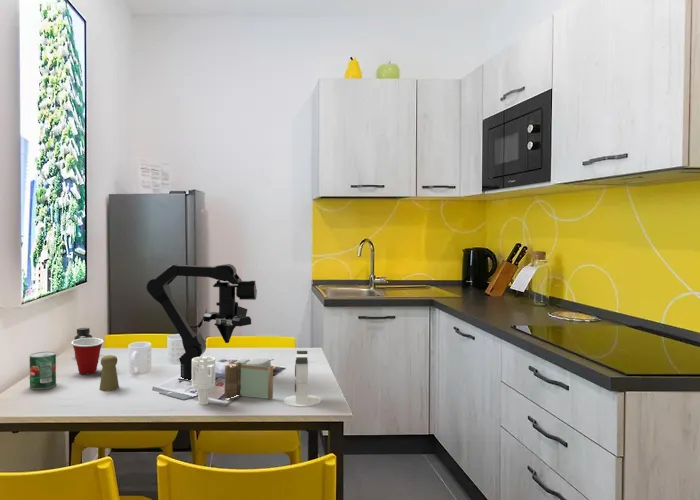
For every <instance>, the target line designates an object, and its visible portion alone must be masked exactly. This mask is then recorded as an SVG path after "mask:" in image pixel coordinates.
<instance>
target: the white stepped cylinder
mask: <svg viewBox="0 0 700 500" xmlns="http://www.w3.org/2000/svg"><path fill="white" fill-rule="evenodd" d="M197 365H199V366H197ZM215 386H216V358H215V357H214V356H207V355H203V356H202V355H201V356H200V357H196V358H193V359H192V381H191V388H192V389H195V390H198V396H197V398H198V402H197V403H198V405H201V406H202V405H203V406H205V405H209V398H210V397H209V393H210V392H209V389H212V388H214V387H215Z"/></svg>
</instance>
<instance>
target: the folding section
mask: <svg viewBox="0 0 700 500" xmlns="http://www.w3.org/2000/svg"><path fill="white" fill-rule="evenodd" d="M240 397H251V398H252V397H253V398H261V399H262V398H263V399H269V400H270V399H273V397H274V366H272V365H271V366H261V365H249V364H241V396H240Z"/></svg>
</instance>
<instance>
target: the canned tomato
mask: <svg viewBox="0 0 700 500" xmlns="http://www.w3.org/2000/svg"><path fill="white" fill-rule="evenodd" d="M56 359H57V353H56V352H55V351H39V352H33V353H31V354H29V389H31V390H47V389H51V388H54V387H56V386H57V360H56Z"/></svg>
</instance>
